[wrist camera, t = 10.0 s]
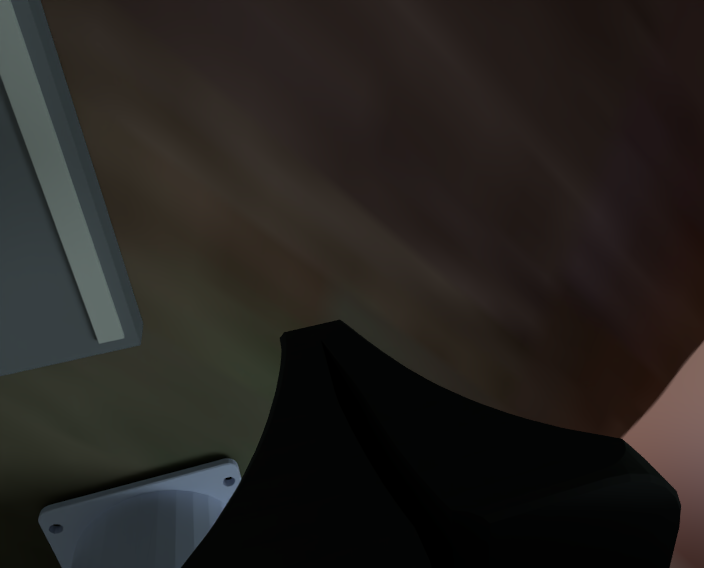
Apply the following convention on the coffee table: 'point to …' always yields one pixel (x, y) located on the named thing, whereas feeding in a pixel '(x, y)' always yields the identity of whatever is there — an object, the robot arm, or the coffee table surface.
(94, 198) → the breaker board
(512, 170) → the coffee table surface
